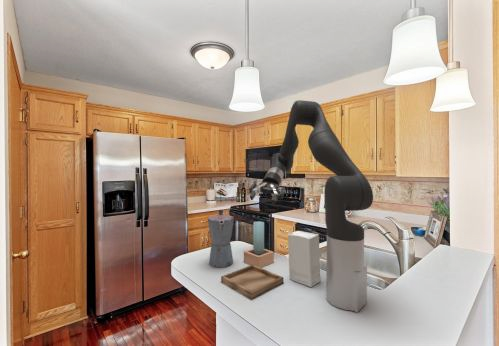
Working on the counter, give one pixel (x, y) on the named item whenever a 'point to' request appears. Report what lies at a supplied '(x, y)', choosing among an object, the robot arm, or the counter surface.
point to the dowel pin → (258, 238)
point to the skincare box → (304, 258)
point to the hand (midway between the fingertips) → (261, 200)
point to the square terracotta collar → (259, 258)
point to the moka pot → (220, 239)
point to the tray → (252, 281)
